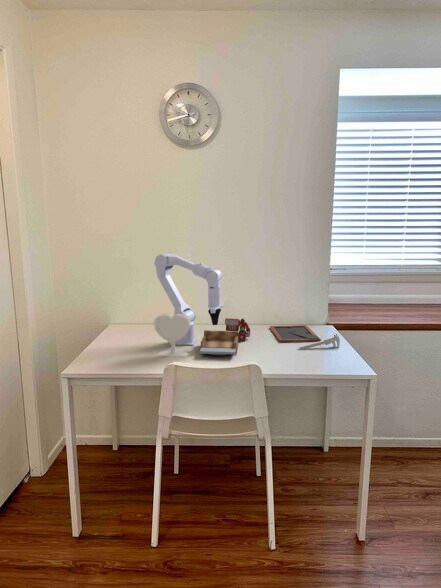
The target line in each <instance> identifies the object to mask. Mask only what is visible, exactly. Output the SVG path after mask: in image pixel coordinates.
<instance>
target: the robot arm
mask: <svg viewBox="0 0 441 588" xmlns="http://www.w3.org/2000/svg"><path fill="white" fill-rule="evenodd" d="M153 264H154V266H155V270H156V277H157V279H158V280H159V282H160V284H161V287H162V288H163V290H164V292H165V293H166V295H167V297H168V299H169V300H170V302H171V304H172V306H173V308H174V312H173V314H174V315H175V314H184V315H186V316H188V317H189V318H190V321H191V324H190V329H189V330H188V332H187V333H186V335H185V336H184V337H183V338H181V339H180V340H178V341H176V342H175V346H176V345H177V346H178V345H179V346H194V345H195V342H196V341H197V339H195V329H194V328H195V327H194V326H195V325H194V321H195V320H196V318H197V315H196V312H195V310H194V309H192V308H191V307H190V305H188V304H187V303H185V301H184V299H183V297H182V295H181V293H180V291H179V290H178V288H177V286H176V284H175V282H174V281H173V279H172V277H171V275H170V273H171V270H172V269H173V267H175V266H179V267H182V268H184V269H187V270H189V271H191V272H192V274H193V275H194V276H197V277H199V278H202V279H204V280H206V282H207V298H208V299H207V301H208V305H207V307H208V308H209V309H208V310H207V312H208V314H209V317H210V318H211V319H210V320H211V324H212V326H217V325H218V324H219V318H220V314H221V312H222V308H224V304H222V298H221V297H222V296H221V295H222V291H221V279H222V277H223V273H222V271H221V270H220V269H218V268H213V267H212V266H208V265H205V264H204V262H196V263H194V262H192V261H190V260H187V259H185V258H183V257H181V256H179V254H176V253H173V252H167V253H164V254H158V255H157V256H156V257H155V259H154V263H153ZM174 315H173V316H174Z"/></svg>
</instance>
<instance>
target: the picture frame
mask: <svg viewBox="0 0 441 588" xmlns="http://www.w3.org/2000/svg"><path fill="white" fill-rule="evenodd" d="M269 329H271V330H270V331H271V332H272V334H273V335H274V336H275V339H277V342H278V343H279V344H281V343H282V344H283V343H284V344H285V343H288V344H289V343H291V344H292V343H315V342H319V341H322V340H321V337H319V335H317V334H316V333H315V332H314V331H313V330H312V329H311V328H310V327H308V326H307V324H305V325H304V324H299V325H297V324H295V325H269Z"/></svg>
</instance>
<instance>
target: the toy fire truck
mask: <svg viewBox="0 0 441 588" xmlns="http://www.w3.org/2000/svg"><path fill="white" fill-rule="evenodd" d="M224 324H225V331H238V341H239V342H244V341H245V340H246V339H247V338H250V337H251V329H250V326H249V324H248V322H246V321H245V318H241V319H240V318H225V320H224Z"/></svg>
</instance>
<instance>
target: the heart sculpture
mask: <svg viewBox="0 0 441 588" xmlns="http://www.w3.org/2000/svg"><path fill="white" fill-rule="evenodd" d="M190 324H191V321H190V318H189V317H188V316H186V315H184V314H175V315H173V314H171V313H169V312H168V313H162V314H158V315H157V316H156V317H155V318H154V321H153V327H154V329H155V331H156V333H157V334H158V336H159V337H161V338H162V339H163V340H165V341H167V342H168V343H170V351H160V352H158V356H160V355H162V357H163V355H164V357H166V356H167V357H187V356H189V353H188V352H186V351H176V345H175V342H176V341H178V340H180V339H181V338H183V337H184V336H185V335H186V333H187V332H188V330H189V329H190Z"/></svg>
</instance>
